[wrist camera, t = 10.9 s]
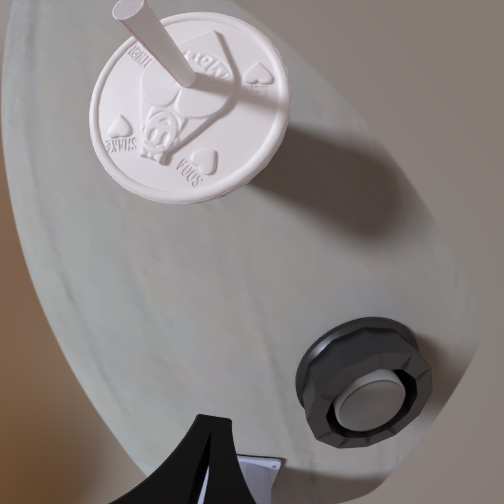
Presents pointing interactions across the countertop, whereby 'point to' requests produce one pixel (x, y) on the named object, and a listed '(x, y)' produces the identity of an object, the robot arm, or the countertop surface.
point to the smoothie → (188, 105)
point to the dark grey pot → (358, 365)
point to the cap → (369, 400)
